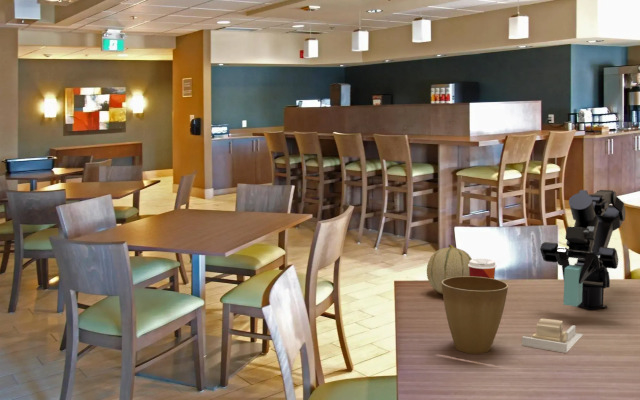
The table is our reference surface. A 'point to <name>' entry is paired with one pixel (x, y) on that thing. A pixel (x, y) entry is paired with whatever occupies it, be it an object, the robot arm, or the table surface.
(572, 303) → the teal rectangular block
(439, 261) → the cantaloupe
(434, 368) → the table surface
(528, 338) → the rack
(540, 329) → the offcut upper
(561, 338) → the offcut lower
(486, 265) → the paper cup
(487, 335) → the plant pot
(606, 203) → the robot arm
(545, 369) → the table surface
